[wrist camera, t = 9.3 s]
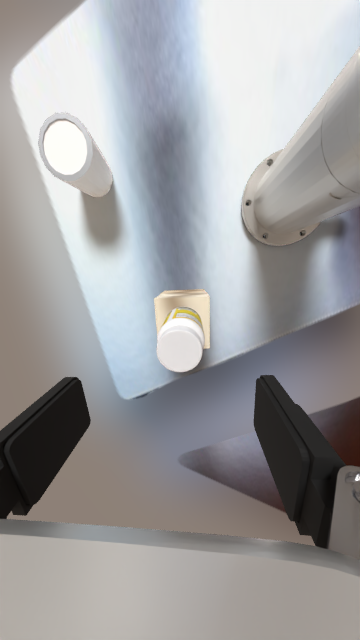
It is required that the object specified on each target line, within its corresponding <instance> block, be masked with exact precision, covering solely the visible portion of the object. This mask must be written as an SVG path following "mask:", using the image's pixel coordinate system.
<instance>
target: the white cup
mask: <svg viewBox="0 0 360 640" xmlns="http://www.w3.org/2000/svg"><path fill="white" fill-rule="evenodd" d="M38 144H39V150H40V156H41V158H42V160H43V162H44V164H45V166H46V168H47V169H48V170H49V171H50V172H51V173H52V174H53V175H54V176H55V177H57V178H59V179H60V180H62V181H64V182H66V183H68V184H70V185H72V186H73V187H75V188H77V189H79V190H81V191H83V192H84V193H86V194H88V195H90V196H93V197H102V196H104V195H106V194H107V193H108V192H109V190H110V189H111V186H112V182H113V178H112V171H111V169H110V166H109V164H108V163H107V161H106V160H105V158H104V156H103V155H102V153H101V151H100V150H99V148H98V146H97V145H96V143H95V141H94V140H93V138H92V137H91V135H90V133H89V132H88V130H87V128H86V127H85V126H84V125H83V124H82V123H81V121H80V120H79V119H78V118H77V117H74V116H72V115H70V114H68V113H55V114H53V115H52V116H50V117H49V118H47V119H46V120H45V122H44V124H43V126H42V127H41V129H40V134H39V141H38Z"/></svg>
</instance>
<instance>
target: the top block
mask: <svg viewBox="0 0 360 640" xmlns="http://www.w3.org/2000/svg"><path fill="white" fill-rule="evenodd" d="M154 302H155V314H156V325H157V336H158V332H159V330H160V328H161V327H162V325H163V323H164V321H165V319H166V317H167V315H168V314H169V313H170V312H171V311H172V310H173V309H175V308H178V307H189V308H191V309H193V310H195V311H196V312H197V313H198V315H199V316H200V318H201V321H202V326H203V331H204V336H205V344H204V348H210V297H209V295H208V293H207V292H195V293H170V294H160V295H159V296H157V297H156V298H154Z"/></svg>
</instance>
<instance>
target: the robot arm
mask: <svg viewBox="0 0 360 640" xmlns="http://www.w3.org/2000/svg"><path fill="white" fill-rule="evenodd" d="M267 164H268V165H269V166H268V165H267ZM246 203H248V206H246ZM359 206H360V46H359V48H358V49H357V50H356V52H355V53H354V55H353V56H352V57H351V59H350V60H349V61H348V63H347V64H346V65H345V67H344V68H343V69H342V71H341V72H340V73H339V75H338V76H337V78H336V79H335V80H334V82H333V83H332V84H331V86H330V87H329V88H328V90H327V91H326V92H325V94H324V95H323V96H322V98H321V99H320V101H319V102H318V103H317V105H316V106H315V107H314V109H313V110H312V111H311V113H310V114H309V115H308V117H307V118H306V119H305V121H304V122H303V124H302V125H301V126H300V128H299V129H298V130H297V132H296V133H295V134H294V136H293V137H292V138H291V140H290V141H289V142H288V144H287V145H286V146H285V148H284V149H282V150H279V151H277V152H275V153H273V154H271V155H270V156H269V157H267V158H266V159H264V160H263V161H262V162H261V163H260V164H259V165H258V166H257V168H256V169H255V171H254V172H253V173H252V175H251V176H250V178H249V180H248V182H247V184H246V187H245V189H244V193H243V197H242V206H241V209H242V217H243V220H244V223H245V225H246V227H247V229H248V231H249V232H250V233H251V235H252V236H253V237H254V238H256V239H257V240H258V241H260V242H262V243H264V244H267V245H272V246H283V245H289V244H292V243H295V242H297V241H299V240H302V239H303V238H305V237H306V236H308V235H309V234H311V233H312V232H313V231H314V230H315V229H316V228H317V227H318V225H319V224H320V223H321V221H323V220H326V219H328V218H331V217H333V216H336V215H338V214H341V213H344V212H346V211H349V210H351V209H354V208H356V207H359ZM300 233H301V235H300ZM263 235H264V236H265V238H263ZM89 425H90V416H89V412H88V407H87V403H86V399H85V396H84V392H83V387H82V384H81V381H80V380H79V379H78V378H77V377H65V378H63V379H62V380H61V381H60V382H59V383H57V384H56V385H55V386H54V387H53V388H51V389H50V390H49V391H48V392H47V393H45V394H44V395H43V396H42V397H40V398H39V399H38V400H37V401H36V402H34V403H33V404H32V405H31V406H30V407H28V408H27V409H26V410H25V411H24V412H22V413H21V414H20V415H19V416H18V417H16V418H15V419H14V420H13V421H12V422H10V423H9V424H8V425H7V426H6V427H4V428H3V429H2V430H1V431H0V640H360V467H356V466H346V464H345V463H344V462H343V461H342V459H341V458H340V457H339V455H338V454H337V453H336V452H335V450H334V449H333V448H332V446H331V445H330V444H329V443H328V441H327V440H326V439H325V437H324V436H323V435H322V434H321V432H320V431H319V430H318V428H317V427H316V426H315V425H314V423H313V422H312V421H311V419H310V418H309V417H308V415H307V414H306V413H305V412H304V411H303V409H302V408H301V407H300V406H299V405H297V404H295V403H294V402H293V401H292V399H291V398H290V397H289V395H288V394H287V393H286V391H285V390H284V389H283V387H282V386H281V385H280V383H279V382H278V381H277V379H276V378H275V377H274V376H273V375H261V376H260V378H258V379H257V380H256V393H255V409H254V427H255V431H256V433H257V436H258V439H259V441H260V444H261V447H262V449H263V452H264V455H265V457H266V460H267V463H268V465H269V468H270V470H271V473H272V476H273V478H274V481H275V484H276V486H277V489H278V492H279V494H280V497H281V499H282V502H283V505H284V507H285V510H286V513H287V515H288V517H289V519H290V520H291V521H295V523H296V526H297V528H298V531H299V533H300V535H310V536H312V539H313V541H314V543H315V545H316V546H311V545H304V544H298V543H292V542H287V541H277V540H267V539H258V538H247V537H238V536H228V535H216V534H202V533H191V532H178V531H166V530H152V529H140V528H127V527H113V526H99V525H84V524H71V523H57V522H42V521H27V520H11V519H7V516H8V514H9V513H10V512H11V511H12V513H13V515H27V513H28V512H29V511H30V509H31V508H32V506H33V505H34V504H36V503H37V502H38V501H39V500H40V498H41V497H42V495H43V494H44V492H45V491H46V489H47V488H48V486H49V485H50V483H51V482H52V481H53V479H54V477H55V476H56V474H57V473H58V472H59V470H60V469H61V467H62V466H63V464H64V463H65V461H66V460H67V458H68V457H69V455H70V454H71V452H72V451H73V449H74V448H75V446H76V445H77V443H78V442H79V440H80V438H81V437H82V436H83V434H84V433H85V432H86V430H87V429H88V427H89Z"/></svg>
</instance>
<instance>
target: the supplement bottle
mask: <svg viewBox="0 0 360 640" xmlns="http://www.w3.org/2000/svg"><path fill="white" fill-rule="evenodd" d="M204 344H205V336H204V331H203V326H202V321H201V318H200V316H199V315H198V313H197V312H196V311H195V310H193V309H191V308H189V307H178V308H175V309H173V310H172V311H171V312H170V313H169V314H168V315H167V317H166V319H165V321H164V323H163V325H162V327H161V328H160V330H159V332H158V336H157V356H158V359H159V361H160V362H161V364H162V365H163V366H164V367H166V368H167V369H169V370H171V371H175V372H186V371H189V370H191V369H193V368H194V367H196V366H197V365H198V363H199V362H200V360H201V357H202V350H203V348H204Z"/></svg>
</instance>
